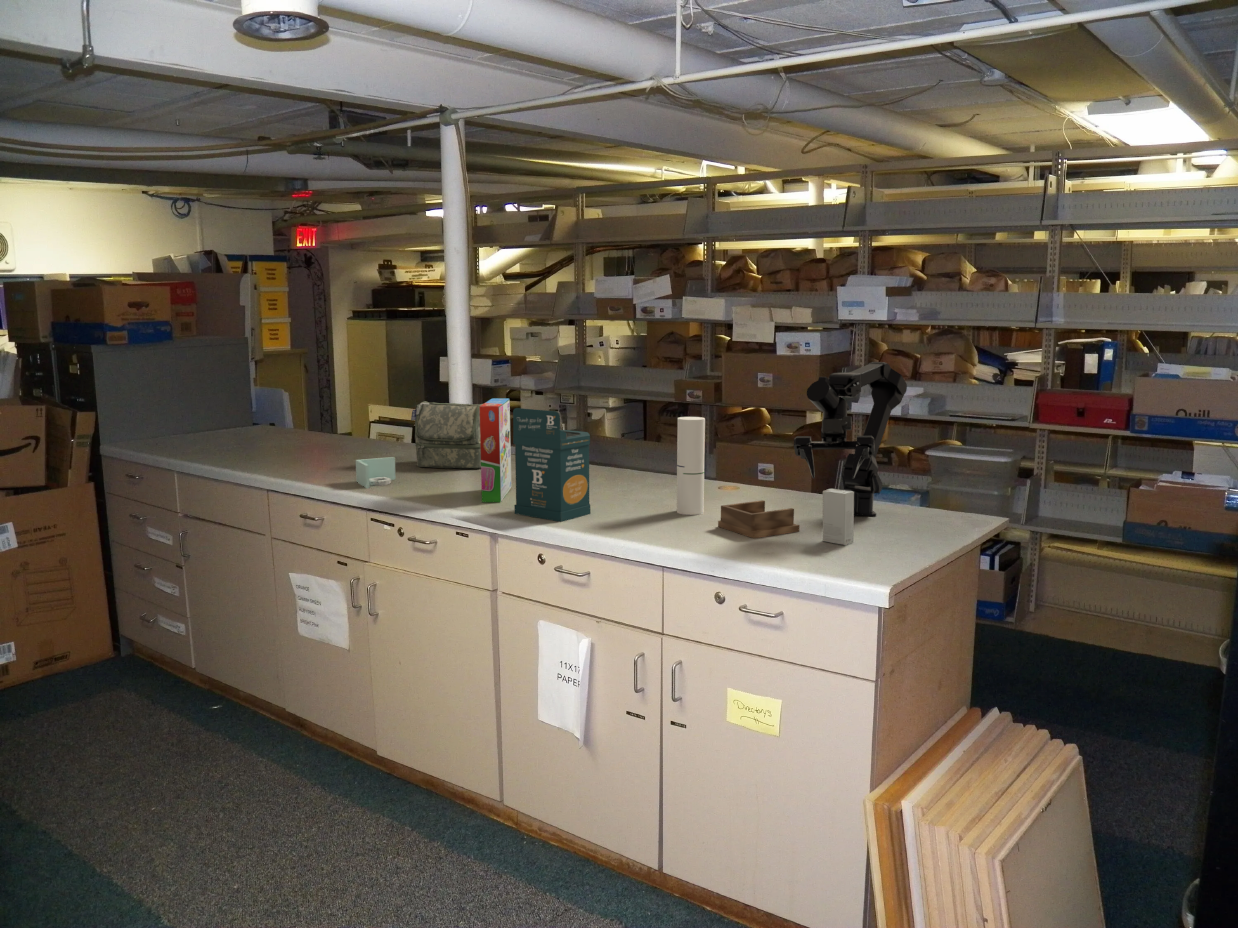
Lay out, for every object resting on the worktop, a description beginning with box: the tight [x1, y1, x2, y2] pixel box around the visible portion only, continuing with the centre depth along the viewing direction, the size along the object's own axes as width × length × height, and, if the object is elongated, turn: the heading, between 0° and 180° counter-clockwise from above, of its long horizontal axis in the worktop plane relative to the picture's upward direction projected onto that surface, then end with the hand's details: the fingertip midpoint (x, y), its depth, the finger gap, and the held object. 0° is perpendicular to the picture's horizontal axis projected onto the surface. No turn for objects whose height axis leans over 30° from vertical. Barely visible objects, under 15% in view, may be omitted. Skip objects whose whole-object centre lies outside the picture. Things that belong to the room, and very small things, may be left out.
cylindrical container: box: [676, 416, 706, 516], centre depth 248 cm, size 7×7×25 cm
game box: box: [480, 397, 512, 504], centre depth 270 cm, size 21×6×27 cm, turn 178°
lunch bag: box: [410, 400, 483, 470], centre depth 323 cm, size 26×18×22 cm
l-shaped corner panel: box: [355, 456, 396, 489], centre depth 290 cm, size 12×12×8 cm
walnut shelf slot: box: [717, 499, 801, 539], centre depth 230 cm, size 14×14×6 cm
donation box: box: [512, 407, 591, 523], centre depth 247 cm, size 16×16×28 cm
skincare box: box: [822, 488, 855, 546], centre depth 217 cm, size 6×4×12 cm
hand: (833, 477), depth 224 cm, fingers open, 9 cm apart
